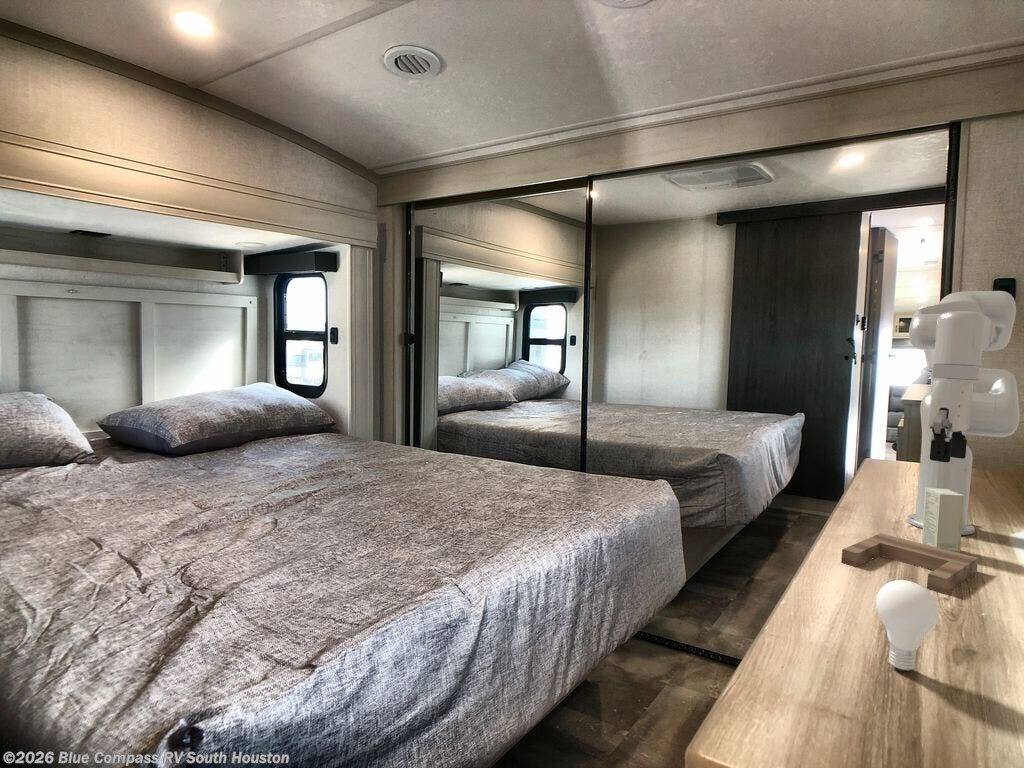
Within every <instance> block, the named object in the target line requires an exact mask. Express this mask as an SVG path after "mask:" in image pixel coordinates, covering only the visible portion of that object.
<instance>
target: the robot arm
mask: <svg viewBox="0 0 1024 768" xmlns="http://www.w3.org/2000/svg"><path fill="white" fill-rule="evenodd" d="M1016 305H1017V304H1016V301H1015V299H1014V297H1013V296H1012V294H1011V293H1009V292H1007V291H1004V290H980V291H979V290H977V291H975V290H972V291H970V290H967V291H966V290H965V291H956V292H951V293H949V294H947V295H945V296H944V297H943V298H942V299H941V300H940V302H939V303H938V304H934V305H933V304H932V305H928V306H924V307H922V308H919V309H916V311H915V312H914V313H913V315H912V318H911V320H910V325H909V327H908V338H909V342H910V344H911V345H912V346H913V347H914V348H916V349H922V350H924V354H925V359H926V360H927V362H928V364H929V365H930V368H931V377H930V379H931V380H930V392H929V393H927V394H925V395H924V396H923V398H922V399H921V400H920V401H921V402H920V406H919V407H920V408H919V409H920V410H919V411H920V422H921V423H920V424H921V447H920V459H919V472H918V483H917V494H916V507H915V513H913V514H912V513H911V514H908V515H907V516H906V521H907V523H909V524H911V525H912V526H915V527H918V528H920V529H923V516H924V499H925V488H939V489H949V490H951V491H954V492H956V493H959V494H961V495H964V498H963V512H962V527H961V536H966V535H972V534H974V533H975V531H976V529H975V526H973V525H972V524H970V523H968V522H967V520H968V511H969V501H970V499H969V498H970V490H971V489H970V488H971V480H972V479H971V478H972V470H973V469H972V468H973V461H974V460H973V457H974V456H973V453H972V450H971V448H970V446H968V435H972V436H982V437H995V438H1005V437H1006V438H1007V437H1009V436H1011V435H1013V434H1014V433H1015V432H1016V430H1017V429H1018V427H1019V424H1020V418H1021V417H1020V404H1019V403H1020V402H1019V393H1018V385H1017V380H1016V377H1015V376H1014V374H1013V373H1012V372H1010V371H1008V370H1006V369H999V368H988V367H987V368H985V367H981V365H982V356H983V351H989V352H990V351H991V352H992V351H1001V350H1003V349H1004V348H1007V346H1008V344H1009V343H1010V339H1011V337H1012V332H1013V329H1014V324H1015V321H1016V320H1015V319H1016V315H1017V306H1016Z"/></svg>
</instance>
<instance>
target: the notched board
mask: <svg viewBox="0 0 1024 768" xmlns="http://www.w3.org/2000/svg"><path fill="white" fill-rule="evenodd" d="M841 551H842V552H841V561H840V562H841V563H842V564H845V563H846V564H845V565H848V566H851V565H852V567H855V566H857V567H858V565H859V566H861V565H862V563H863V564H865V563H867V562H869V561H871V560H873V559H875V558H877V557H879V555H881V557H884V556H885V558H887V557H888V559H891V558H892V559H891V560H894V559H895V560H894V561H898V560H899V562H901V561H902V562H901V563H905V562H906V564H908V563H909V565H912V564H913V566H916V565H917V566H916V567H919V566H921V567H920V568H923V567H924V569H926V568H929V569H928V570H930V569H932V570H931V572H929V573H928V574H927V583H926V590H930V591H934V592H937V593H940V594H946V593H948V592H950V591H951V590H952V589H954V588H955V587H957V586H959V584H961V583H962V582H963V581H965V580H967V579H968V578H969V577H971V576H972V575H973V574H975V573H976V572H978V563H979V562H978V561H979V557H976V556H972V555H968V554H964V553H961V552H960V553H957V552H953V551H949V550H945V549H941V548H937V547H933V546H929V545H925V544H922V542H916V541H913V540H908V539H906V538H901V537H897V536H893V535H890V534H885V533H881V532H880V533H878V534H876V535H873V536H871V537H869V538H866V539H864V540H862V541H859V542H857V543H853V544H852V545H849V546H847V547H845V548H844V547H843V548H842V550H841ZM872 558H873V559H872ZM864 562H865V563H864ZM860 564H861V565H860ZM933 570H934V571H933Z"/></svg>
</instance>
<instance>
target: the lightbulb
mask: <svg viewBox="0 0 1024 768" xmlns="http://www.w3.org/2000/svg"><path fill="white" fill-rule="evenodd" d="M875 607H876V611H877V614H878V616H879V618H880V620H881V622H882V624H883V625H884V627H885V629H886V635H887V639H888V641H889V649H888V650H889V652H888V662H889V664H890V665H892V666H893V667H894V668H895V669H897V670H899V671H902V672H909V671H912V670H914V669H915V664H916V657H917V656H916V653H917V649H918V648H920V645H921V642H922V640H923V638H924V637H925V636H926V635H927V634H928V633H930V632H931V631H932V630H933V629H934V627H936V625H937V623H938V620H939V616H940V614H939V612H940V611H939V606H938V604H937V601H936V600H935V598H934V596H933V595H932V594H931V593H930V591H929V590H928V589H927V588H925V587H924V586H922V585H920V584H919V583H916V582H913V581H911V580H905V579H895V580H891V581H889V582H886V583H884V585H882V586H881V587H879V590H878V592H877V594H876V596H875Z"/></svg>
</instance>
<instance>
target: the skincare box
mask: <svg viewBox="0 0 1024 768" xmlns="http://www.w3.org/2000/svg"><path fill="white" fill-rule="evenodd" d="M963 498H964V495H961V494H959V493H956V492H954V491H951V490H949V489H939V488H925V499H924V516H923V528H922V536H921V544H925V545H929V546H933V547H937V548H941V549H945V550H949V551H953V552H957V553H961V540H962V539H961V538H962V535H961V527H962V512H963Z"/></svg>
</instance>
